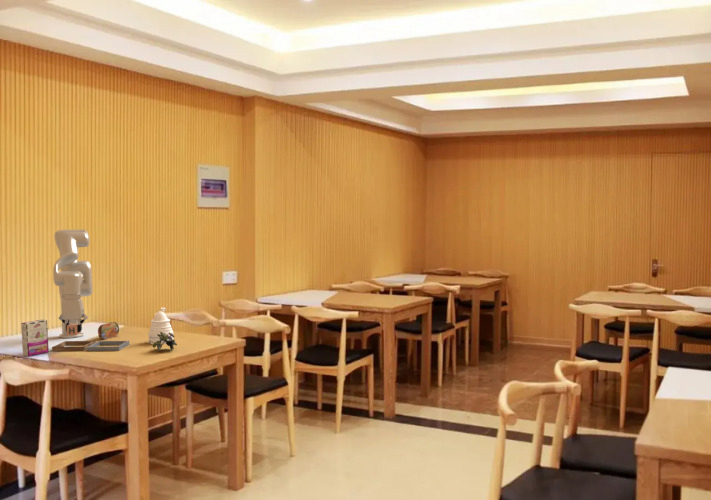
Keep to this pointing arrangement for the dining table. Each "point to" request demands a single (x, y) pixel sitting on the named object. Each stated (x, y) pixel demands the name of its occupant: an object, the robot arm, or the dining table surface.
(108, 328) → the tin
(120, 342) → the grey frame
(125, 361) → the dining table surface
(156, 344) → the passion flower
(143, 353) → the dining table surface
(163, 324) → the honey pot
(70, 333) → the letter cube
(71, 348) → the walnut frame
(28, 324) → the candy bar box
